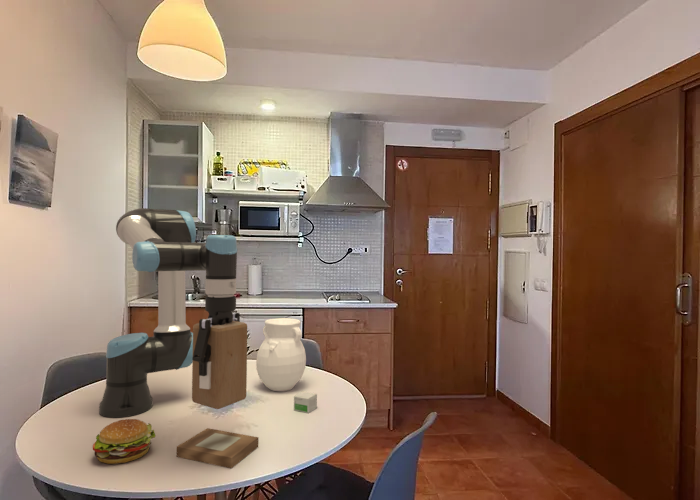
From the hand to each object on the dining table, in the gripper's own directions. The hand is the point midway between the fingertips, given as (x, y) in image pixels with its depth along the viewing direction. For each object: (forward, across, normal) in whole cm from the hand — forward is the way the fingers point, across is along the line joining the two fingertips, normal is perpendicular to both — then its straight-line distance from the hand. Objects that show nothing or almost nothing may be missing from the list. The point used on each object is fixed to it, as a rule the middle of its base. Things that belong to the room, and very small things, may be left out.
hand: (219, 381), depth 111 cm
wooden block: (+5, 0, 0) cm, 5 cm away
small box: (+18, +35, -8) cm, 40 cm away
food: (+18, -9, +21) cm, 29 cm away
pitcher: (+18, +52, +10) cm, 56 cm away
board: (+18, 0, 0) cm, 18 cm away
